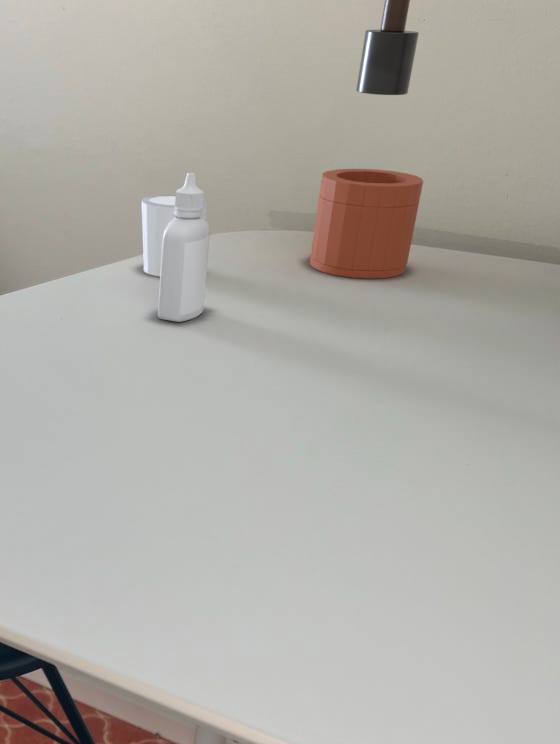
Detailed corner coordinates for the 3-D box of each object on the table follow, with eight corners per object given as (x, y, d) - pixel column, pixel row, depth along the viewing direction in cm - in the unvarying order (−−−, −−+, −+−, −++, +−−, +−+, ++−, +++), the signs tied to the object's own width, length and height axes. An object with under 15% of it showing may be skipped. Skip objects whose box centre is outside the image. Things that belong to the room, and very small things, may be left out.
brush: (396, 89, 97) (425, -74, 90) (415, 95, 93) (447, -75, 86) (349, 89, 97) (374, -75, 90) (366, 94, 93) (394, -77, 86)
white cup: (177, 260, 109) (181, 191, 105) (215, 274, 104) (221, 203, 101) (125, 267, 106) (128, 196, 102) (161, 282, 101) (166, 209, 98)
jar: (384, 255, 113) (400, 168, 108) (420, 278, 105) (438, 185, 100) (298, 255, 112) (309, 168, 107) (326, 279, 104) (340, 186, 99)
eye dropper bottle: (219, 317, 92) (232, 175, 85) (168, 324, 89) (178, 180, 83) (192, 305, 95) (203, 167, 88) (142, 312, 92) (150, 171, 86)
